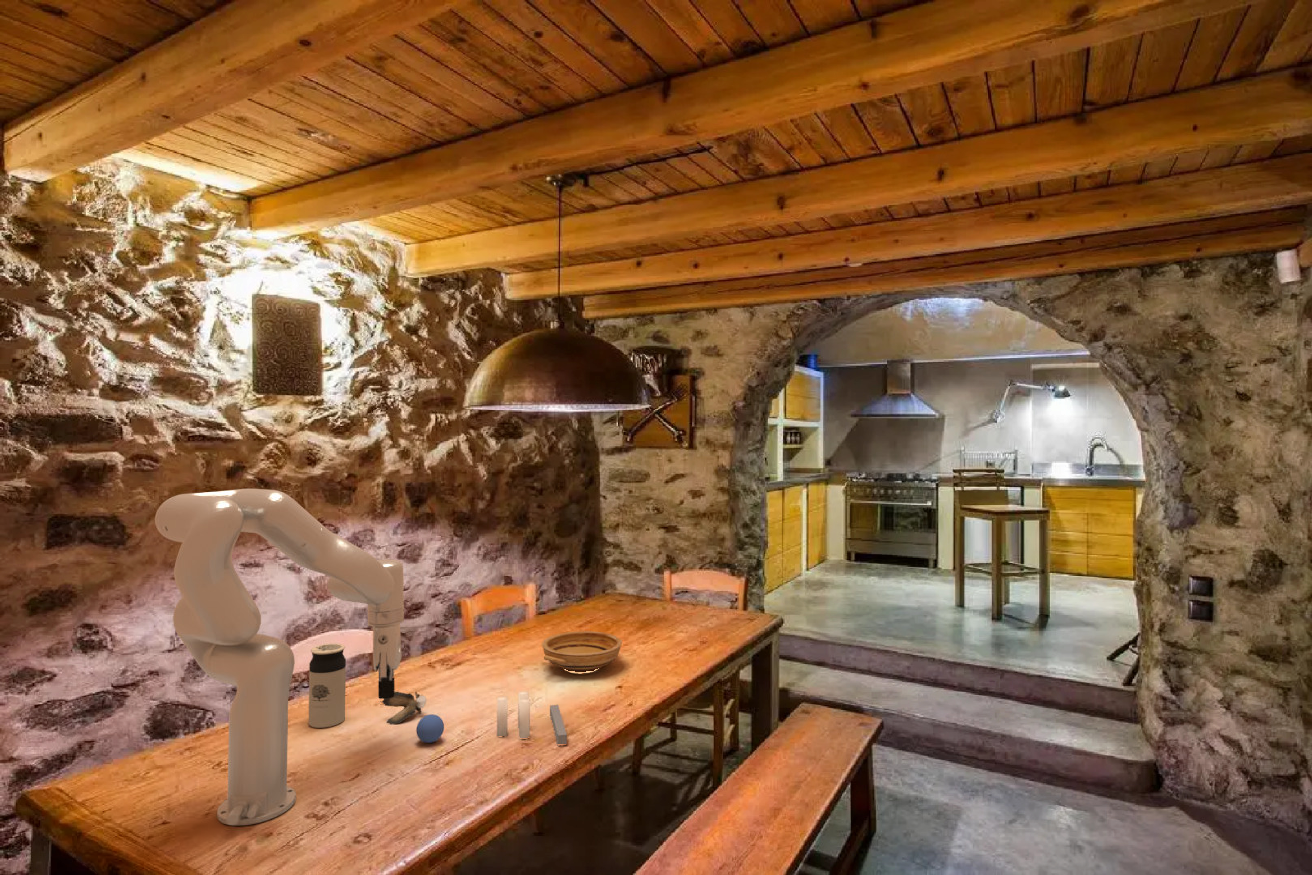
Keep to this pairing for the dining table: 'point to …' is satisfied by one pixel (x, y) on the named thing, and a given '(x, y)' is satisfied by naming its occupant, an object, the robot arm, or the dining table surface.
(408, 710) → the eagle figurine
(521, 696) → the pin
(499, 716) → the front pin
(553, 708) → the gray rectangular bar
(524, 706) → the pin
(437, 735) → the ball
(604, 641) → the ceramic bowl
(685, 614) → the dining table surface
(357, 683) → the dining table surface
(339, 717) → the travel mug
